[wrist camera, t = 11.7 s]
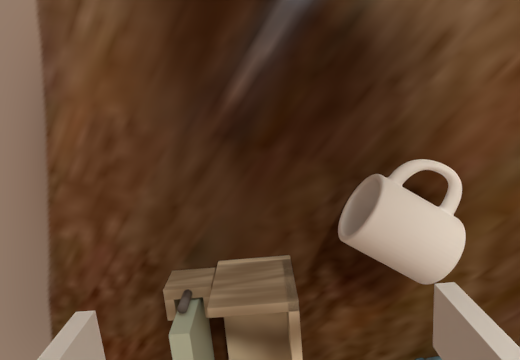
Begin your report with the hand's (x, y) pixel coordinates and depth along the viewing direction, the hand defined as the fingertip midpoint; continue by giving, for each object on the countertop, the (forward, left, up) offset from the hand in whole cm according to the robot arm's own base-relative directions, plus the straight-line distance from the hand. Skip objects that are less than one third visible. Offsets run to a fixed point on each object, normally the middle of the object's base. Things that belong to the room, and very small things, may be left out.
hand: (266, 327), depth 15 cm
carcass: (+20, -5, -29) cm, 35 cm away
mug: (+5, +15, -29) cm, 33 cm away
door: (+20, -9, -29) cm, 36 cm away
